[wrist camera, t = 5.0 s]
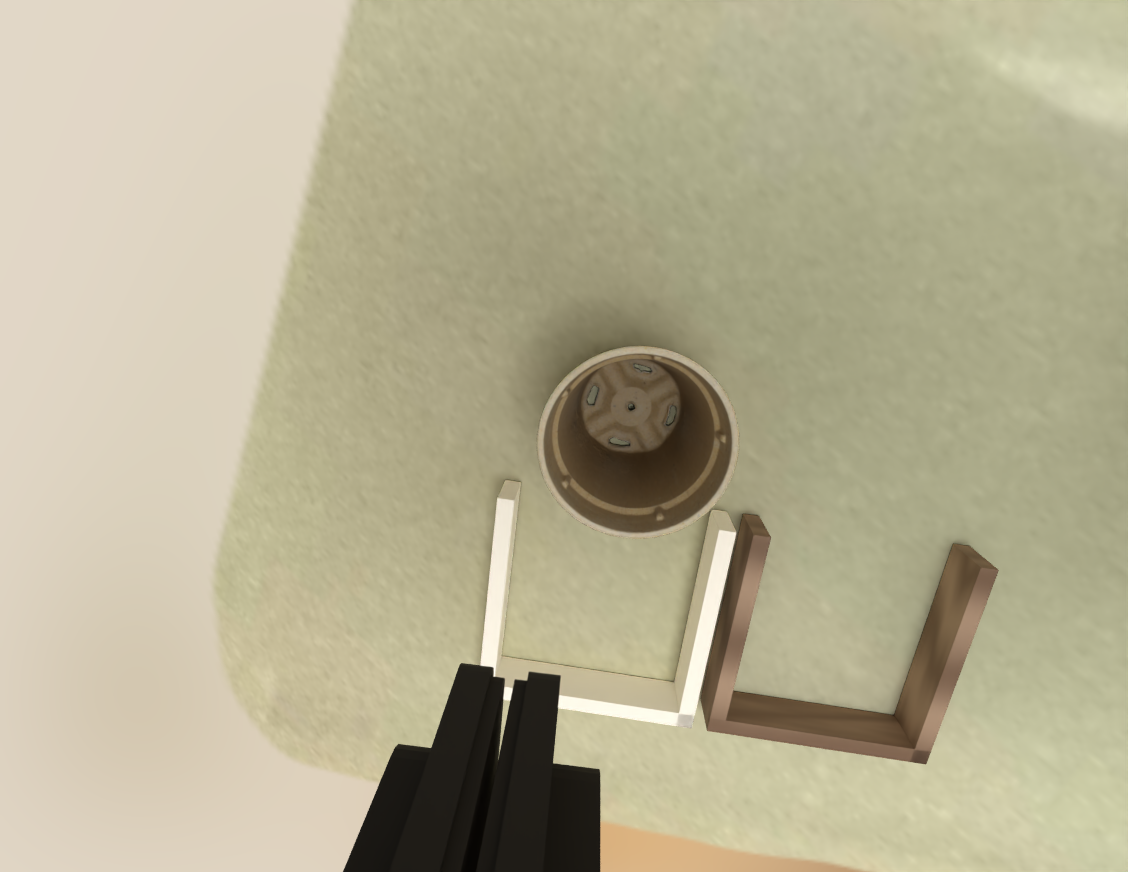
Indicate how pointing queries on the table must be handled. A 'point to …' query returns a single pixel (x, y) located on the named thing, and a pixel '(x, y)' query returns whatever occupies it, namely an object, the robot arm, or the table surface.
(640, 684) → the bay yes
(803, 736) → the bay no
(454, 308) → the table surface
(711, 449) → the flower pot
